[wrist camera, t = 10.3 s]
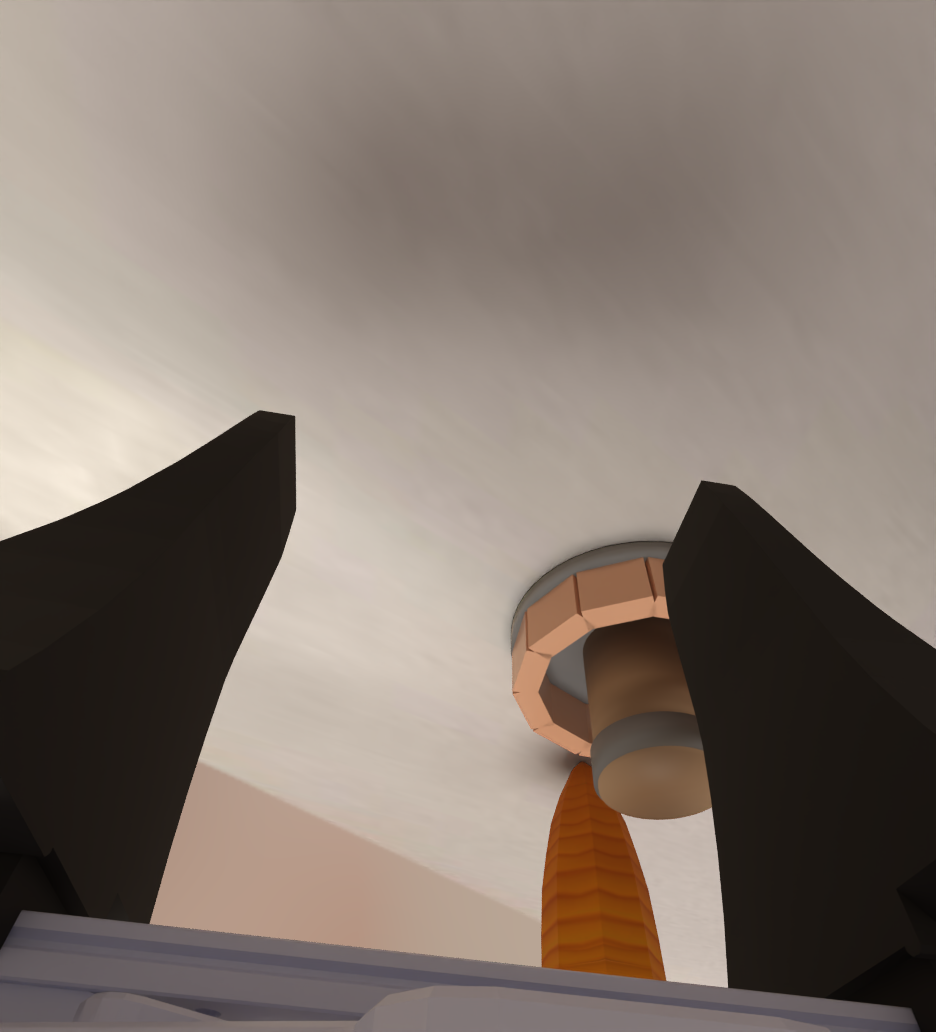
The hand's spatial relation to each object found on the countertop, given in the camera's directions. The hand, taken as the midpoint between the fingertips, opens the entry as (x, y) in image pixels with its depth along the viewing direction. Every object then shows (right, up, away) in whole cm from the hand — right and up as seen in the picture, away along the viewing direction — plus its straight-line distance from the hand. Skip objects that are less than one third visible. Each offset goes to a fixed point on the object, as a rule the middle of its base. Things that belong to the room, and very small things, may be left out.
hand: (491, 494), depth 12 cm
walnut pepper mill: (+7, -6, +15) cm, 18 cm away
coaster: (+7, -5, +16) cm, 18 cm away
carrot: (+6, -13, +22) cm, 26 cm away
